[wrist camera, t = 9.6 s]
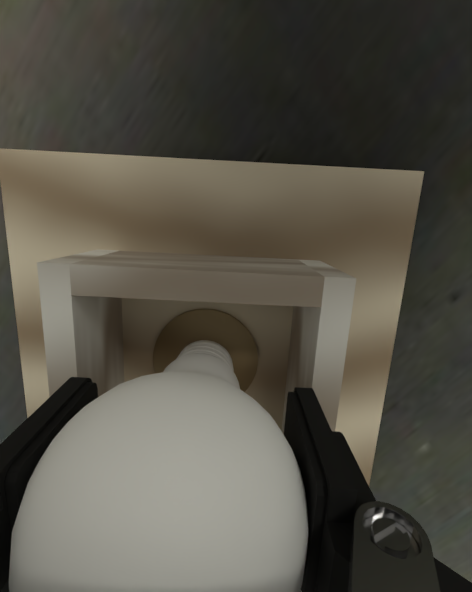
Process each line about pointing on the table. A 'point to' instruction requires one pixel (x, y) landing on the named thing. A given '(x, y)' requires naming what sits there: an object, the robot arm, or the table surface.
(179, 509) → the lightbulb
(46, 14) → the table surface
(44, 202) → the socket
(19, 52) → the table surface
